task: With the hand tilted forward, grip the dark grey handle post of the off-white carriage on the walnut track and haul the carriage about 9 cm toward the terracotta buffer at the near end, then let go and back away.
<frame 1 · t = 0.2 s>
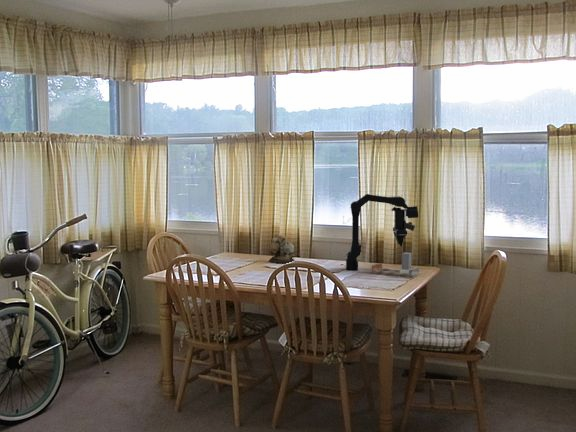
hand: (400, 245, 342), 15 cm above the table, fingers open, 9 cm apart
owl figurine: (281, 262, 369), on the table
track: (395, 274, 331), on the table
carriage: (406, 263, 326), point 7 cm above the table, slide at 0.0 cm
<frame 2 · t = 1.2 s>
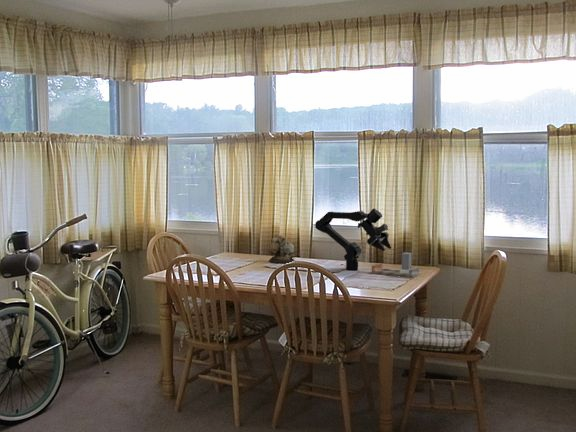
hand: (387, 249, 332), 14 cm above the table, fingers open, 9 cm apart
nothing on the table moved.
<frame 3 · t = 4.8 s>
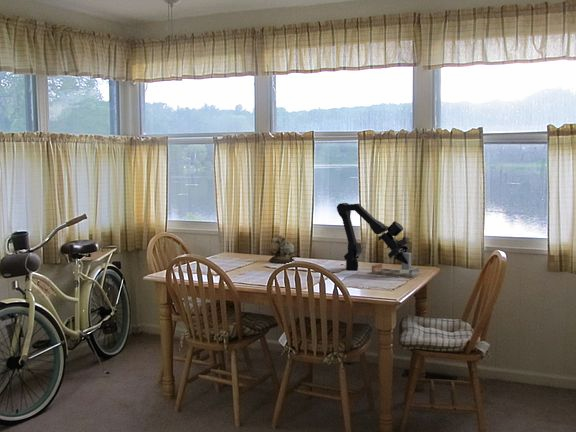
hand: (409, 263, 326), 7 cm above the table, fingers closed on carriage, 4 cm apart
carriage: (406, 263, 326), point 7 cm above the table, slide at 0.0 cm, touching gripper
everything else where it was.
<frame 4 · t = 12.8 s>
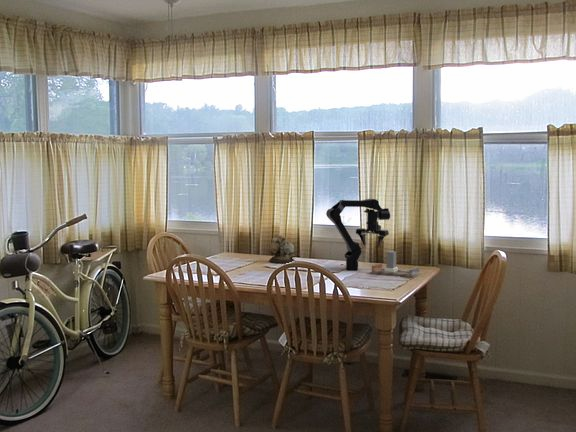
hand: (371, 246, 347), 13 cm above the table, fingers open, 9 cm apart
carriage: (391, 261, 331), point 7 cm above the table, slide at 9.0 cm
everything else where it was.
at the end: carriage slide at 9.0 cm; the gripper is holding nothing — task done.
